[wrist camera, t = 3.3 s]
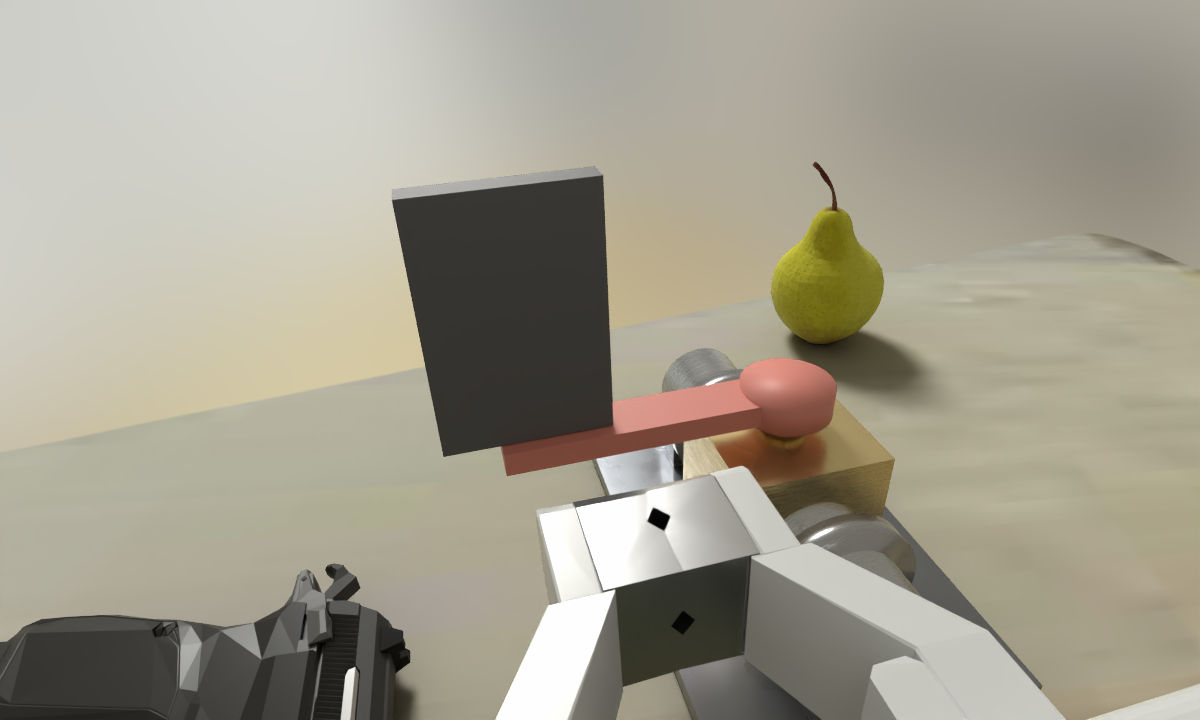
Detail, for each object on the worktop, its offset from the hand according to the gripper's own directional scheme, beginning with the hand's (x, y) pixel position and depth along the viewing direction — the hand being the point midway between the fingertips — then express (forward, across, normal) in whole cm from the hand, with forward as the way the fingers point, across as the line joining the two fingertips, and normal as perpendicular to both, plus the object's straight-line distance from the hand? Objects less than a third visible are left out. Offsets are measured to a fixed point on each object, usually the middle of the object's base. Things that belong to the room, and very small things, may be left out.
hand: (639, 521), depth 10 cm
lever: (+13, -4, +9) cm, 17 cm away
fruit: (+30, -22, +17) cm, 41 cm away
